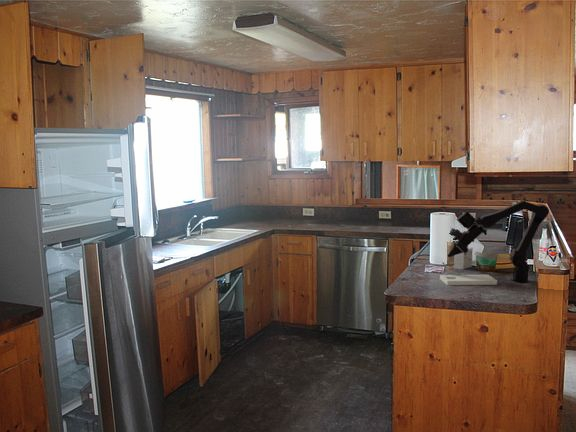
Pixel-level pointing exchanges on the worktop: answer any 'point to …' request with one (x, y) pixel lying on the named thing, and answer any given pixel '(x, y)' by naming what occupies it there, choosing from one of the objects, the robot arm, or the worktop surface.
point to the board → (468, 280)
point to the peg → (451, 259)
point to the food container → (486, 261)
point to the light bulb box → (463, 259)
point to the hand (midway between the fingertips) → (447, 255)
